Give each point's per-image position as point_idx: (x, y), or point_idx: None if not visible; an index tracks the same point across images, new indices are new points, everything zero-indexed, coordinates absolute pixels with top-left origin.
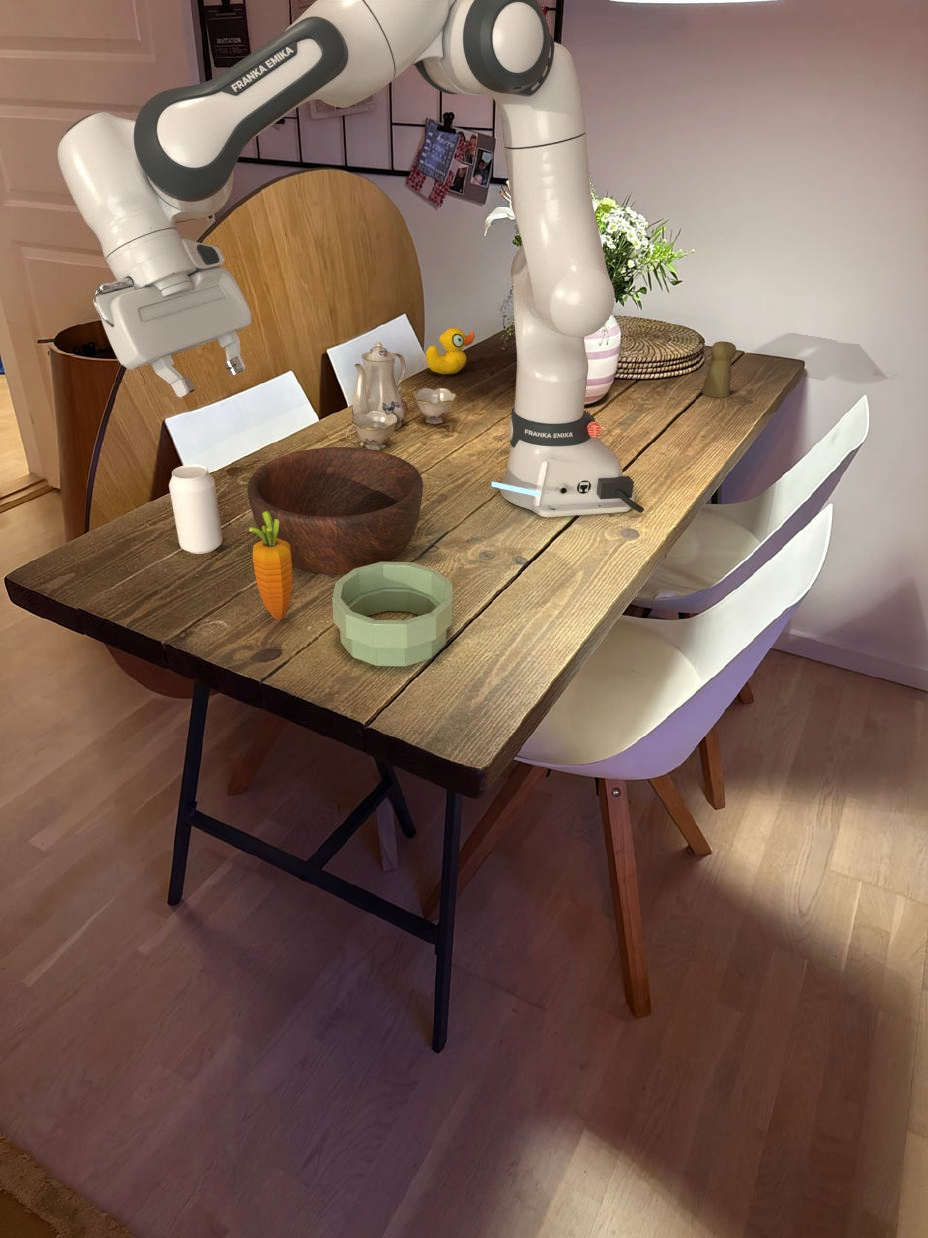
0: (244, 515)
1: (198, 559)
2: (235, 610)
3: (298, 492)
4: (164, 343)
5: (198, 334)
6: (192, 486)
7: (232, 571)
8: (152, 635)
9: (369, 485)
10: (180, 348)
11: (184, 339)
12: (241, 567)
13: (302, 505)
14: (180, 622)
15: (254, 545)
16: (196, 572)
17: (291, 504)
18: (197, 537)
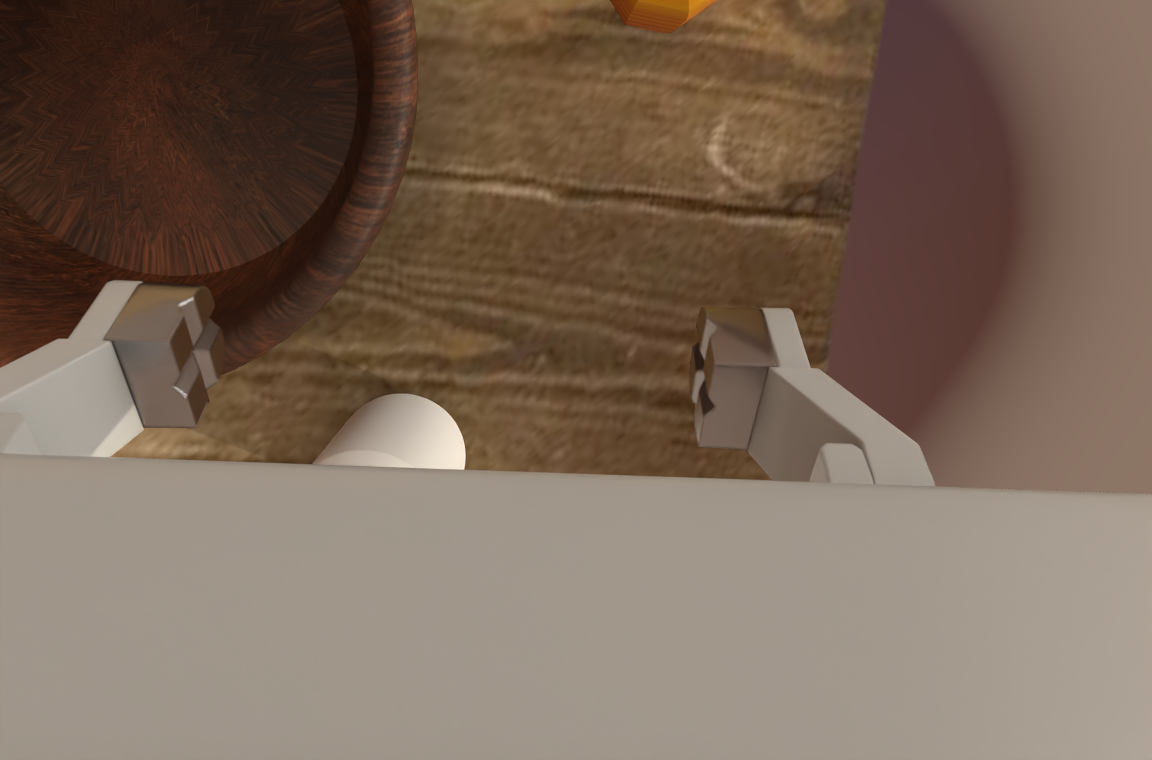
0: (178, 459)
1: (468, 412)
2: (649, 149)
3: (47, 300)
4: (945, 543)
5: (436, 509)
6: None
7: (479, 285)
8: (836, 273)
9: None
10: (741, 479)
11: (663, 512)
12: (447, 275)
13: (73, 280)
14: (758, 248)
15: (693, 3)
16: (530, 372)
17: None
18: (449, 433)
